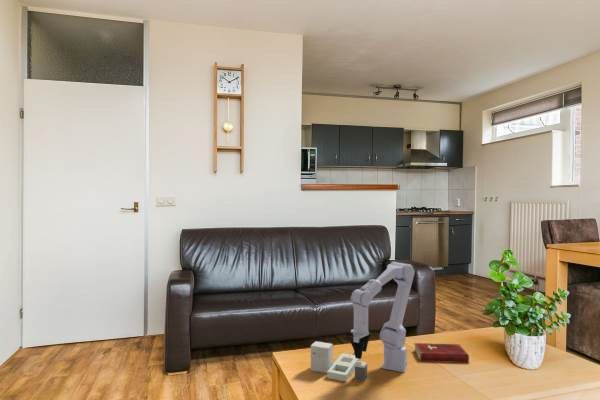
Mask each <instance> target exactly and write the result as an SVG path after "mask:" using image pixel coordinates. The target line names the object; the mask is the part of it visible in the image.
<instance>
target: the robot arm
mask: <svg viewBox="0 0 600 400" xmlns="http://www.w3.org/2000/svg"><path fill="white" fill-rule="evenodd" d="M415 273H416V271H415V268H414V266H413V265H412V264H410V263H403V262H396V261H391V262H390V263H389V264H387V266H386V269H385V270H384V271H383V272H382V273H381V274H380V275H379V276H377V278H376V279H375V278H372V279H369V280H368V282H367V283H365V284H363V285H362V286H361V287H360V288H357V289H355V290H352V293H351V296H350V301H351V303H352V307H353V329H351V330H350V333H351V334H353V338H350V345H351V346H352V349H353V353H355V358H357V359H360V360H362V356H363V352H367V348H368V345H369V344H368V343H369V340H370V337H371V335H372V333H371V332H370V331H369V306H370V305H371V303H372V301H373V299H374V297H376V295H378V293H380V292H381V291H382V287H383V286H384V285H386V284H387V283H389V282H390V281H391V280H392V279H393V281H394V282H396V284H397V289H396V293H395V297H394V299H393V300H394V301H393V304H392V309H391V313H390V316H389V320H388V321H387V322H384V323H383V326H382V328H381V330H380V333H379V339H380V341H381V342H382V345H383V363H382V364H381V369H384V370H390V371H393V372H400V373H405V371H406V369H407V366H408V362H407V361H408V360H407V359H408V357H407V356H408V353H407V351H408V350H407V347H405V344H406V334H407V330H406V328H405V327H404V326H403V321H404V318H405V312H406V309H407V305H408V300H409V296H410V294H411V293H410V292H411V288H412V284H413V281H414V277H415Z"/></svg>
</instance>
